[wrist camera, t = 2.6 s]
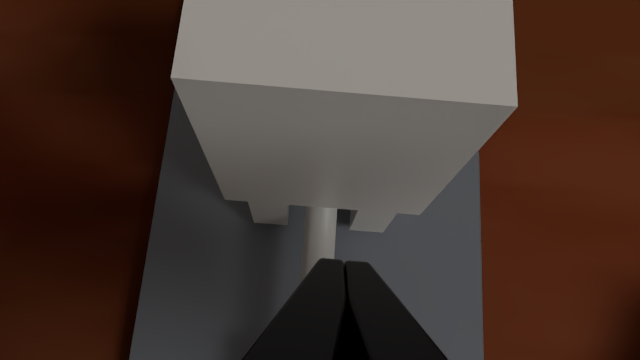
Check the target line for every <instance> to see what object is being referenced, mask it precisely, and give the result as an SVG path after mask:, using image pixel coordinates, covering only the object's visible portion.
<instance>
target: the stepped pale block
mask: <svg viewBox="0 0 640 360" xmlns="http://www.w3.org/2000/svg"><path fill="white" fill-rule="evenodd" d="M171 80H172V82H173V84H174V87H175V89H176V91H177V93H178V96H179V98H180V100H181V102H182V105H183V107H184V109H185V111H186V114H187V116H188V118H189V120H190V123H191V125H192V127H193V129H194V132H195V134H196V136H197V138H198V141H199V143H200V145H201V147H202V150H203V152H204V154H205V156H206V159H207V161H208V163H209V165H210V168H211V170H212V172H213V174H214V177H215V179H216V181H217V183H218V186H219V188H220V190H221V192H222V195H223V197H224V199H225V200H234V201H247V202H248V204H249V208H250V211H251V214H252V218H253V221H254V223H265V224H277V225H288V217H289V206H290V205H298V206H311V207H323V208H336V209H349V210H350V228H349V230H355V231H367V232H380V233H383V232H384V230H385V229H386V228H387V226H388V225H389V224H390V222H391V221H392V220H393V218H394V217H395V215H396V214H397V213H400V214H412V215H420V214H421V213H422V212H423V211H424V210H425V209H426V207H427V206H428V205H429V204H430V203H431V202H432V201H433V200H434V199H435V198H436V196H437V195H438V194H439V193H440V192H441V191H442V190H443V189H444V188H445V186H446V185H447V184H448V183H449V182H450V181H451V180H452V179H453V178H454V177H455V175H456V174H457V173H458V172H459V171H460V170H461V169H462V168H463V167H464V165H465V164H466V163H467V162H468V161H469V160H470V159H471V158H472V157H473V156H474V154H475V153H476V152H477V151H478V150H479V149H480V148H481V147H482V146H483V144H484V143H485V142H486V141H487V140H488V139H489V138H490V137H491V136H492V135H493V133H494V132H495V131H496V130H497V129H498V128H499V127H500V126H501V125H502V123H503V122H504V121H505V120H506V119H507V118H508V117H509V116H510V115H511V114H512V112H513V111H514V110H515V109H516V108H517V107H518V102H517V82H516V61H515V40H514V19H513V0H184V2H183V8H182V14H181V20H180V26H179V31H178V37H177V43H176V49H175V55H174V61H173V66H172V72H171Z"/></svg>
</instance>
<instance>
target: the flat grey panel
mask: <svg viewBox="0 0 640 360" xmlns="http://www.w3.org/2000/svg"><path fill="white" fill-rule="evenodd" d="M349 228H350V210H349V209H336V208H323V207H311V206H298V205H290V206H289V217H288V225H277V224H265V223H254V221H253V218H252V214H251V211H250V208H249V204H248V202H247V201H234V200H225V199H224V197H223V195H222V192H221V190H220V188H219V186H218V183H217V181H216V179H215V177H214V174H213V172H212V170H211V168H210V165H209V163H208V161H207V159H206V156H205V154H204V152H203V150H202V147H201V145H200V143H199V141H198V138H197V136H196V134H195V132H194V129H193V127H192V125H191V123H190V120H189V118H188V116H187V114H186V111H185V109H184V107H183V105H182V102H181V100H180V98H179V96H178V93H177V91H176V89H174V95H173V101H172V107H171V113H170V119H169V125H168V130H167V136H166V142H165V148H164V154H163V160H162V166H161V172H160V178H159V184H158V190H157V196H156V202H155V208H154V214H153V220H152V226H151V231H150V237H149V243H148V249H147V255H146V261H145V267H144V273H143V279H142V285H141V291H140V297H139V303H138V309H137V315H136V321H135V327H134V333H133V338H132V344H131V350H130V356H129V360H242V358H243V357H244V356H245V354H246V353H247V352H248V350H249V349H250V348H251V347H252V345H253V344H254V343H255V341H256V340H257V339H258V337H259V336H260V335H261V334H262V332H263V331H264V330H265V328H266V327H267V326H268V325H269V323H270V322H271V321H272V319H273V318H274V317H275V315H276V314H277V313H278V312H279V310H280V309H281V308H282V306H283V305H284V304H285V302H286V301H287V300H288V299H289V297H290V296H291V295H292V293H293V292H294V291H295V290H296V288H297V287H298V286H299V284H300V283H301V282H302V280H303V279H304V278H305V277H306V275H307V274H308V273H309V271H310V270H311V269H312V267H313V266H314V265H315V264H316V262H317V261H318V260H319V259H320V258H329V259H340V260H342V261H343V262H344V263H345V262H346V261H347V260H352V261H364V262H368V263H370V264H371V265H372V267H373V268H374V269H375V270H376V272H377V273H378V274H379V275H380V276H381V278H382V279H383V280H384V281H385V283H386V284H387V285H388V286H389V287H390V289H391V290H392V291H393V292H394V294H395V295H396V296H397V297H398V298H399V300H400V301H401V302H402V303H403V305H404V306H405V307H406V308H407V310H408V311H409V312H410V313H411V314H412V316H413V317H414V318H415V319H416V321H417V322H418V323H419V324H420V325H421V327H422V328H423V329H424V330H425V332H426V333H427V334H428V335H429V336H430V338H431V339H432V340H433V341H434V343H435V344H436V345H437V346H438V347H439V349H440V350H441V351H442V352H443V354H444V355H445V356H446V357H447V359H448V360H484V355H483V312H482V269H481V225H480V182H479V150H478V151H477V152H476V153H475V154H474V156H473V157H472V158H471V159H470V160H469V161H468V162H467V163H466V164H465V165H464V167H463V168H462V169H461V170H460V171H459V172H458V173H457V174H456V175H455V177H454V178H453V179H452V180H451V181H450V182H449V183H448V184H447V185H446V186H445V188H444V189H443V190H442V191H441V192H440V193H439V194H438V195H437V196H436V198H435V199H434V200H433V201H432V202H431V203H430V204H429V205H428V206H427V207H426V209H425V210H424V211H423V212H422V213H421V214H420V215H412V214H400V213H397V214H396V215H395V217H394V218H393V220H392V221H391V222H390V224H389V225H388V226H387V228H386V229H385V230H384V232H383V233H380V232H367V231H355V230H349Z"/></svg>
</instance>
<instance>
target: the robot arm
mask: <svg viewBox="0 0 640 360" xmlns="http://www.w3.org/2000/svg"><path fill="white" fill-rule="evenodd" d="M242 360H448V359H447V357H446V356H445V355H444V354H443V352H442V351H441V350H440V349H439V347H438V346H437V345H436V344H435V343H434V341H433V340H432V339H431V338H430V336H429V335H428V334H427V333H426V332H425V330H424V329H423V328H422V327H421V325H420V324H419V323H418V322H417V321H416V319H415V318H414V317H413V316H412V314H411V313H410V312H409V311H408V310H407V308H406V307H405V306H404V305H403V303H402V302H401V301H400V300H399V298H398V297H397V296H396V295H395V294H394V292H393V291H392V290H391V289H390V287H389V286H388V285H387V284H386V283H385V281H384V280H383V279H382V278H381V276H380V275H379V274H378V273H377V272H376V270H375V269H374V268H373V267H372V265H371V264H370V263H368V262H364V261H352V260H347V261H346V262H345V263H344V262H343V261H342V260H340V259H329V258H320V259H319V260H318V261H317V262H316V264H315V265H314V266H313V267H312V269H311V270H310V271H309V273H308V274H307V275H306V277H305V278H304V279H303V280H302V282H301V283H300V284H299V286H298V287H297V288H296V290H295V291H294V292H293V293H292V295H291V296H290V297H289V299H288V300H287V301H286V302H285V304H284V305H283V306H282V308H281V309H280V310H279V312H278V313H277V314H276V315H275V317H274V318H273V319H272V321H271V322H270V323H269V325H268V326H267V327H266V328H265V330H264V331H263V332H262V334H261V335H260V336H259V337H258V339H257V340H256V341H255V343H254V344H253V345H252V347H251V348H250V349H249V350H248V352H247V353H246V354H245V356H244V357H243V358H242Z"/></svg>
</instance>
